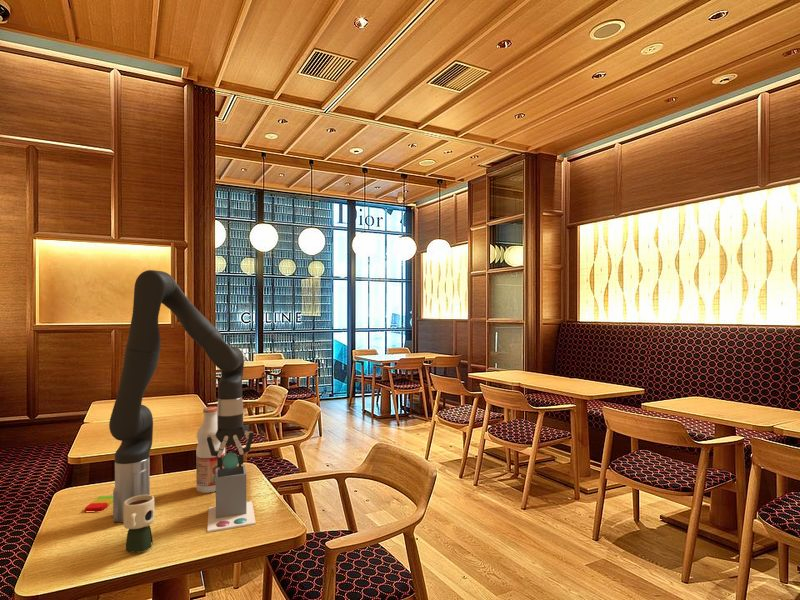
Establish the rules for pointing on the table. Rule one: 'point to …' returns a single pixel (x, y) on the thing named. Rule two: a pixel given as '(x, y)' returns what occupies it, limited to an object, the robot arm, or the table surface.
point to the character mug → (139, 522)
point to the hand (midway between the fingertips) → (230, 466)
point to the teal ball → (230, 460)
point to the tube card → (230, 501)
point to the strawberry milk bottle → (207, 453)
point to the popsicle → (100, 503)
